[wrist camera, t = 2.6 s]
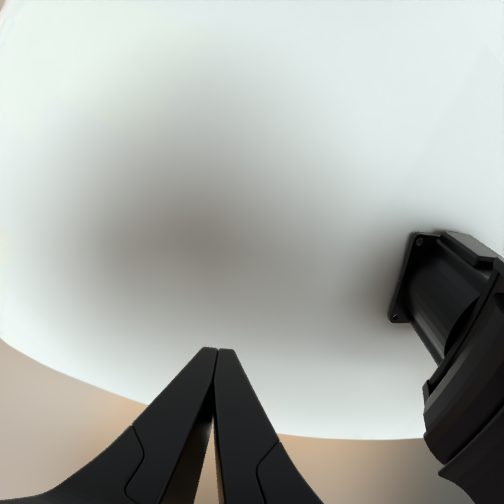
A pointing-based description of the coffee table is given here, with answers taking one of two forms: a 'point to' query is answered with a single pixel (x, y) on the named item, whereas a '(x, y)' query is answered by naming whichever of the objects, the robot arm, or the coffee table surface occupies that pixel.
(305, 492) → the robot arm
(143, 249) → the coffee table surface
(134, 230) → the coffee table surface
